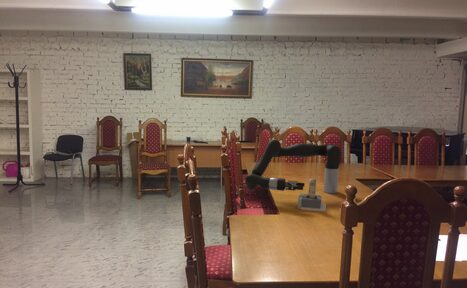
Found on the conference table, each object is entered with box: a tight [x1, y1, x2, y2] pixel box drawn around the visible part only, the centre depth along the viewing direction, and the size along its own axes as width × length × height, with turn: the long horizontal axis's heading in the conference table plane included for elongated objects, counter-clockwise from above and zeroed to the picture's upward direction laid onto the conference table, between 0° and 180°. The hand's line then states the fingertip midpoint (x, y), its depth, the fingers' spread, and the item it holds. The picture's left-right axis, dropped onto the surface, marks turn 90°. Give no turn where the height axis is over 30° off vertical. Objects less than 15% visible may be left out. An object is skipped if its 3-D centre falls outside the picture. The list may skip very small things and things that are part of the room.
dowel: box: [308, 178, 317, 199], centre depth 219 cm, size 4×4×16 cm
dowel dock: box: [297, 192, 327, 213], centre depth 220 cm, size 14×16×6 cm
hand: (303, 186), depth 220 cm, fingers open, 8 cm apart
